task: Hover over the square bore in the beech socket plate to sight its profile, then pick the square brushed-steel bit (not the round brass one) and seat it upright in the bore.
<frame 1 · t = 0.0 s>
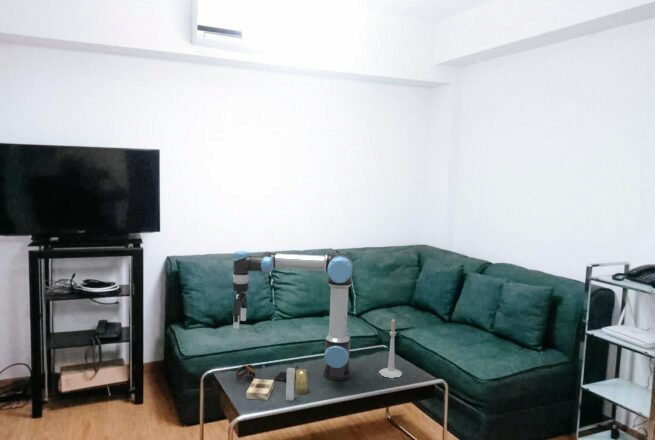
hand: (239, 324, 251), 28 cm above the table, fingers open, 13 cm apart
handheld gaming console: (285, 378, 257), on the table
square steel bit: (290, 398, 232), on the table
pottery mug: (246, 379, 253), on the table
socket plate: (260, 392, 238), on the table
candlestick: (390, 374, 266), on the table
round brass bit: (301, 391, 241), on the table
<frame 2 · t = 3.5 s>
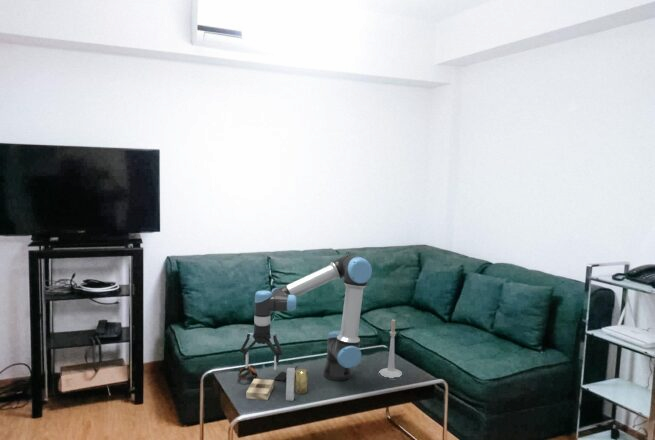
hand: (261, 368, 238), 12 cm above the table, fingers open, 13 cm apart
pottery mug: (249, 380, 253), on the table
everything else where it was.
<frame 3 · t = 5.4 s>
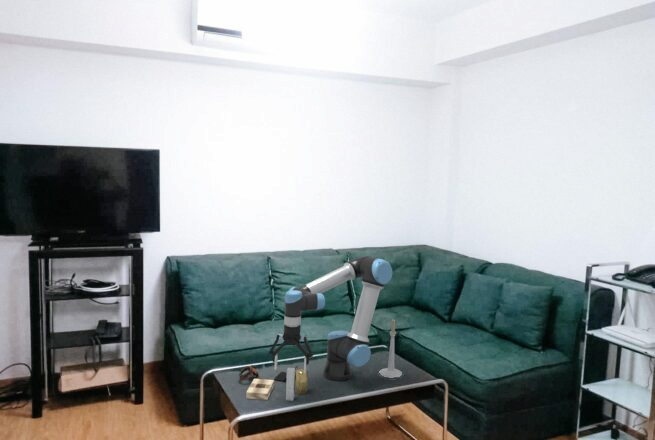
hand: (290, 370, 231), 14 cm above the table, fingers open, 13 cm apart
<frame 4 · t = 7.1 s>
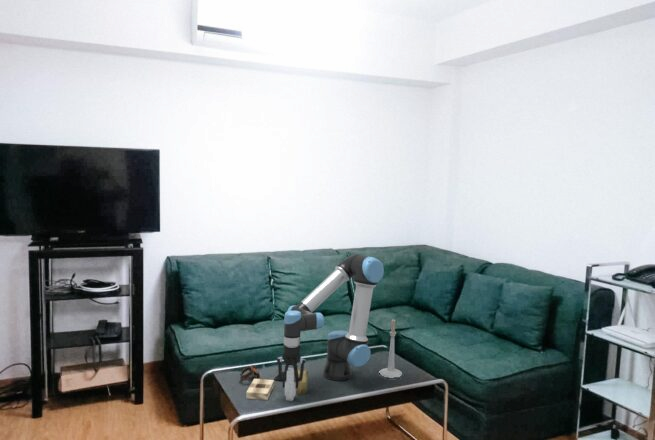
hand: (290, 394, 232), 2 cm above the table, fingers closed on square steel bit, 3 cm apart
square steel bit: (290, 398, 232), on the table, touching gripper
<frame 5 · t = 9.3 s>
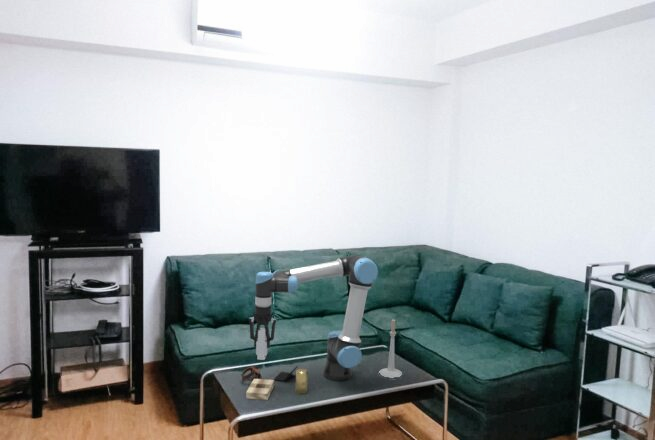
hand: (261, 353, 237), 19 cm above the table, fingers closed on square steel bit, 3 cm apart
square steel bit: (261, 358, 237), point 17 cm above the table, touching gripper
when the fingers open (4 cm above the table, at t = 11.4 s): square steel bit drops 2 cm, resting on socket plate.
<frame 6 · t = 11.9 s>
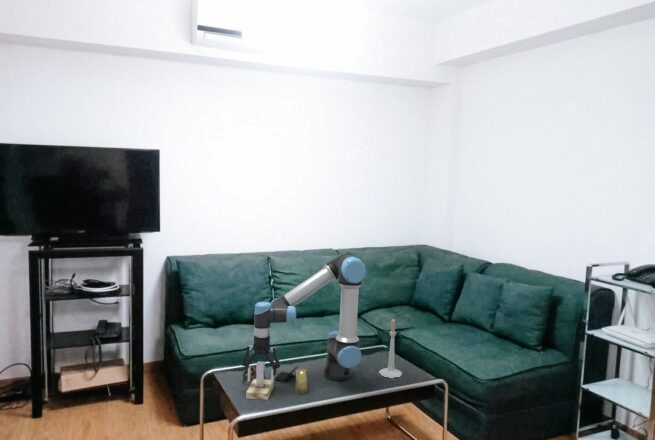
hand: (260, 381, 238), 5 cm above the table, fingers open, 10 cm apart
square steel bit: (260, 391, 238), resting on socket plate
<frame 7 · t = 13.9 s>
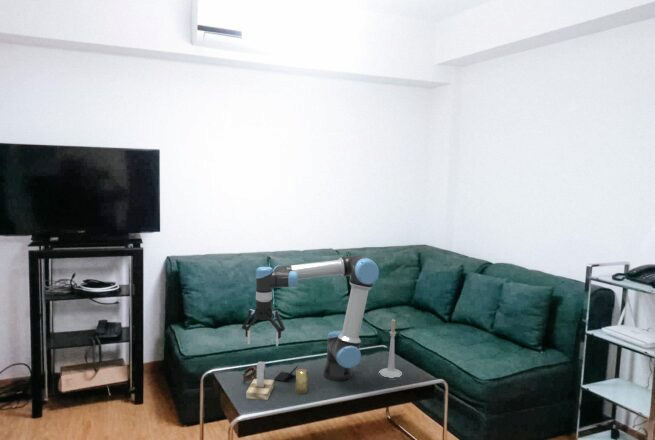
hand: (263, 344, 237), 23 cm above the table, fingers open, 13 cm apart
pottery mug: (254, 381, 252), on the table, touching socket plate
everything else where it was.
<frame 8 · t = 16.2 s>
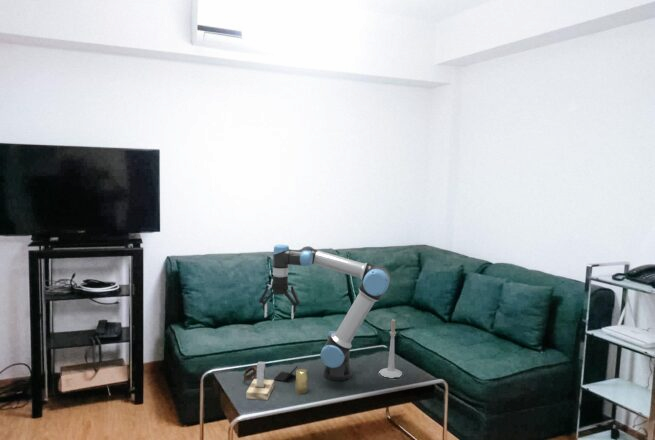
hand: (279, 317, 252), 32 cm above the table, fingers open, 13 cm apart
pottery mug: (254, 381, 252), on the table
everything else where it was.
at the end: square steel bit 0.1 cm off-centre on the socket plate, point 0.2 cm above the socket plate's base; square steel bit tilted 0°; the gripper is holding nothing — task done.
